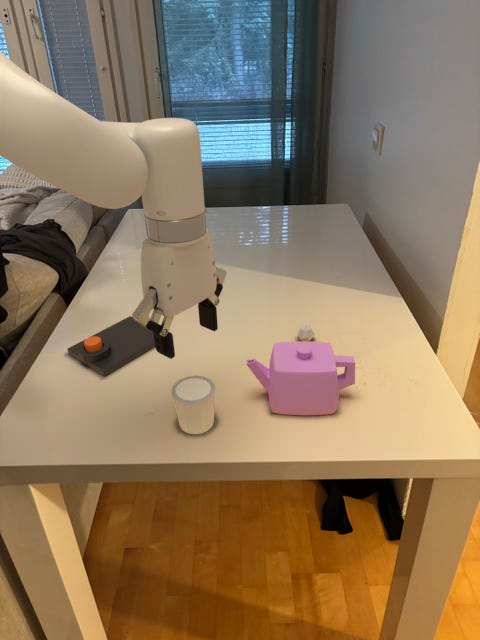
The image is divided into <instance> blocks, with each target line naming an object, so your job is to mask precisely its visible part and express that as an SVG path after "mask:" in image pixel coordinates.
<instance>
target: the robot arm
mask: <svg viewBox="0 0 480 640" xmlns="http://www.w3.org/2000/svg"><path fill="white" fill-rule="evenodd" d="M201 147H202V146H201V135H200V131H199V128H198V126H197V125H196V123H195V122H194V121H192V120H190V119H187V118H181V117H161V118H152V119H148V120H147V119H146V120H143V121H141V122H121V121H108V120H107V121H106V120H99V119H98V118H96V117H94V116H93V115H91V114H89V113H88V112H87V111H85V110H83V109H82V108H80V107H78V106H77V105H76V104H73V103H72V102H70V101H69V100H68V99H66V98H64V97H63V96H61V95H59V94H58V93H56V92H55V91H53V90H52V89H50V88H49V87H47V86H46V85H44V84H43V83H41V82H40V81H38V80H37V79H36V78H34V77H33V76H31V75H30V74H29V73H28V72H26V71H24V70H23V69H22V68H21V67H20V66H18V65H17V64H16V63H15V62H14V61H12V59H10V58H9V57H8V56H7V55H6V54H5V53H3V52H2V51H1V50H0V157H1V158H3V159H5V160H6V161H8V162H10V164H11V163H12V164H13V165H15V166H16V167H18V168H20V169H21V170H22V171H23V170H24V171H25V172H27V173H28V174H31V175H33V176H34V177H36V178H37V179H40V180H42V181H44V182H46V183H48V184H49V185H51V186H54V187H55V188H58V189H59V190H62V191H63V192H65V193H68V194H69V195H71V196H73V197H75V198H77V199H80V200H81V201H84V202H86V203H88V204H90V205H93V206H96V207H98V208H103V209H106V210H110V209H111V210H117V209H123V208H125V207H128V206H130V205H132V204H133V203H135V202H136V201H137V200H138V199H139V198H141V203H142V208H143V215H144V222H145V229H146V235H147V236H146V237H147V238H146V239H145V240H142V246H141V256H140V273H141V288H142V297H143V298H142V299H141V301H140V302H139V304H138V305H137V307H136V308H135V309H134V311H133V312H132V315H131V317H133V319H135V320H136V321H137V322H138V323H139V324H141V326H142V327H145V328H147V329H149V330H151V331H153V335H154V341H155V347H154V348H155V350H156V352H157V353H158V354H160V355H161V356H164V357H166V358H168V359H170V360H172V359H174V358H175V357H176V352H175V343H174V335H173V333H172V332H170V329H171V327H172V323H173V320H174V317H176V316H178V315H179V314H181V313H184V312H185V311H187V310H189V309H191V308H192V307H195V306H196V305H197V308H198V320H199V325H200V327H203V328H205V329H208V330H210V331H212V332H216V331H217V330H218V329H219V327H218V326H219V325H218V311H217V310H218V309H217V306H218V305H219V304H220V298H219V297H220V295H221V293H222V291H223V289H224V286H223V285H224V282H225V279H226V277H227V274H228V273H227V270H226V269H223V268H220V267H217V266H216V258H215V253H214V248H213V243H212V239H211V235H210V232H209V229H208V228H207V221H206V216H207V215H208V213H209V211H208V208H207V207H206V205H205V204H206V203H205V191H204V178H203V177H204V176H203V163H202V162H203V161H202V150H201ZM151 312H152V313H151ZM150 313H151V315H150ZM162 316H163V317H162ZM161 317H162V318H163V319H162V322H161V324H159V323H160V321H161Z"/></svg>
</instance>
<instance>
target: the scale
mask: <svg viewBox="0 0 480 640" xmlns="http://www.w3.org/2000/svg"><path fill="white" fill-rule="evenodd" d="M93 336H97V337H100V338H101V341H102V346H103V347H102V349H101V350H99V351H96V352H87V351H86V349H85V345H84V341H85V340H86V339H87V338H85V339H83V340H81V341H79V342H77V343H75V344H74V345H71V346H69V347H67V353H68V355H69V356H71V357H72V358H74V359H76V360H77V361H79V362H80V363H82V364H83V365H85V366H87V367H88V368H90V369H91V370H93V371H95V372H96V373H98V374H100V375H101V376H103V377H107V376H108V375H110V374H112V373H114V372H115V371H117V370H119V369H120V368H122V367H124V366H126V365H127V364H129V363H130V362H132V361H134V360H135V359H138V358H139V357H140V356H141V355H144V354H145V353H147V352H148V351H150V350H152V349H153V348H155V341H154V335H153V331H151V330H149V329H147V328H145V327H142V326H141V324H139V323H138V322H137V321H136V320H135V319H133V317H132V315H129V316H128V317H125V318H124V319H122V320H120V321H118V322H116V323H114V324H112V325H110V326H108V327H106V328H105V329H102V330H100V331H98V332H97V333H94V334H93V335H90V337H93Z"/></svg>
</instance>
